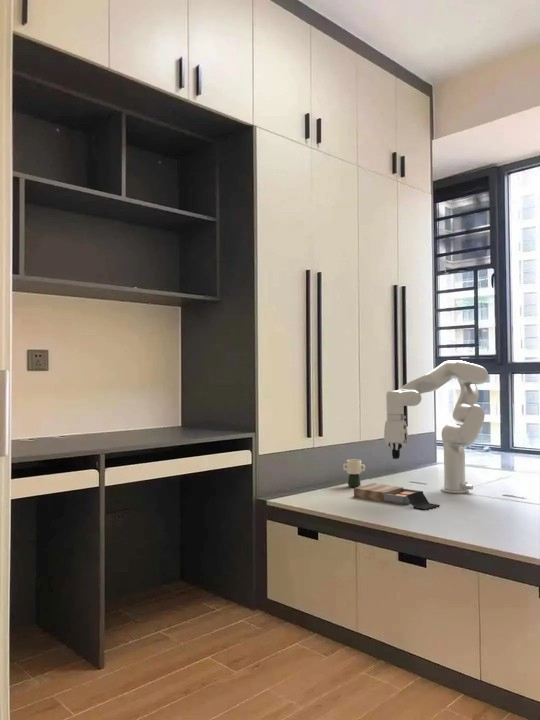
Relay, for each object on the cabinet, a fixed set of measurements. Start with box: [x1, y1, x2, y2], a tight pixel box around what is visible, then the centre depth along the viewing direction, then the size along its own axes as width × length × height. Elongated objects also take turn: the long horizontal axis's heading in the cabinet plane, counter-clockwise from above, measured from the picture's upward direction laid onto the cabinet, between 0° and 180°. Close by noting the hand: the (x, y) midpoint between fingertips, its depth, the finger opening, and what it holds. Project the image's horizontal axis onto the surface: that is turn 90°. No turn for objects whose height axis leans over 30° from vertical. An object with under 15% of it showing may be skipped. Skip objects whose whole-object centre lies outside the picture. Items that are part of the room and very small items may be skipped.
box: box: [383, 487, 424, 506], centre depth 272 cm, size 10×16×4 cm, turn 137°
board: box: [353, 482, 404, 502], centre depth 281 cm, size 16×16×4 cm
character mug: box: [342, 458, 366, 488], centre depth 305 cm, size 11×7×13 cm, turn 71°
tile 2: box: [400, 491, 414, 495], centre depth 275 cm, size 5×5×2 cm
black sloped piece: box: [407, 490, 441, 511], centre depth 259 cm, size 12×7×10 cm
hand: (396, 458), depth 281 cm, fingers closed
